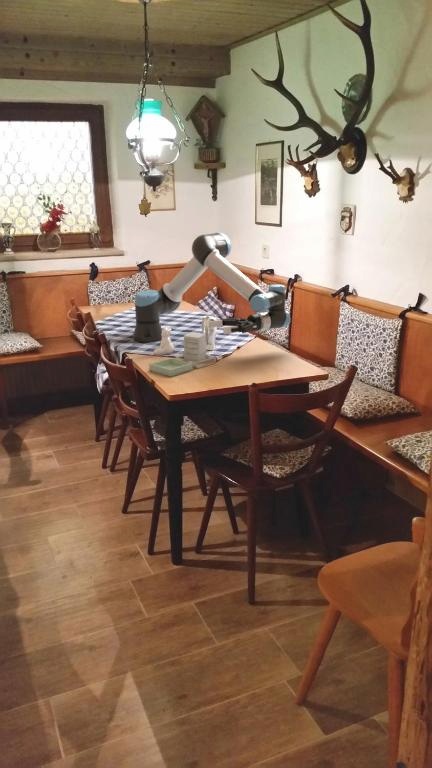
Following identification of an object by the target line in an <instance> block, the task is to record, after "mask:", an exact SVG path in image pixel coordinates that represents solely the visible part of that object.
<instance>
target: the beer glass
mask: <svg viewBox="0 0 432 768" xmlns="http://www.w3.org/2000/svg"><path fill="white" fill-rule="evenodd" d="M217 320H218V318H217V316H214V315H213V316H212V315H206V316H203V317H202V319H201V330H202V332H201V333H203V334H206V351H207V350H212V351H215V350H214V349H216V350H217V344H216V338H217V331H218V327H212V328H209V321H217Z"/></svg>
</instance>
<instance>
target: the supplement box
mask: <svg viewBox="0 0 432 768" xmlns="http://www.w3.org/2000/svg"><path fill="white" fill-rule="evenodd" d="M183 355H184V360H187V361H191V362H195V363H196V362H199V361H203V360H206V355H207V350H206V334H203V332H194V331H193V332H192V331H191V332H189V333H186V334H185V335H183Z"/></svg>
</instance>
